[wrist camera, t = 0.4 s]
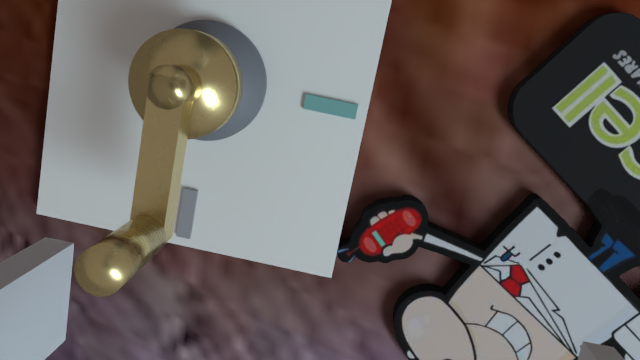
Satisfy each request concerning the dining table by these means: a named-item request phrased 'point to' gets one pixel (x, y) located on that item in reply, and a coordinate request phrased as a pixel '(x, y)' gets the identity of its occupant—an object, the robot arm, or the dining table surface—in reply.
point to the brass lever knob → (163, 145)
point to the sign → (537, 223)
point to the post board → (232, 138)
